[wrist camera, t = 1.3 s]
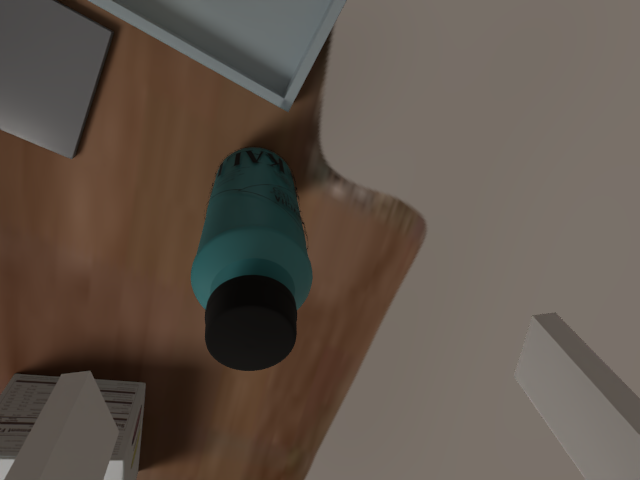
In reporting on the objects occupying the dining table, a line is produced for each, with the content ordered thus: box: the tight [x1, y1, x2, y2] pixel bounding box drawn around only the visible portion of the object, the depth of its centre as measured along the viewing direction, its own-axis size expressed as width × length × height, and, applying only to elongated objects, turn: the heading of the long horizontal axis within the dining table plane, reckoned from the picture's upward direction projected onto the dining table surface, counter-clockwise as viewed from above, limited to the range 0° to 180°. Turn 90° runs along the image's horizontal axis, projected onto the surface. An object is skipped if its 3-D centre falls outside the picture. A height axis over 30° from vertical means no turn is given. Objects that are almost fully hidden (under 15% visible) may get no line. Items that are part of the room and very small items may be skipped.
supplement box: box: [0, 374, 146, 480], centre depth 42 cm, size 17×13×9 cm
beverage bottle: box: [191, 147, 312, 371], centre depth 25 cm, size 6×7×20 cm
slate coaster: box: [0, 0, 114, 159], centre depth 27 cm, size 10×10×1 cm
